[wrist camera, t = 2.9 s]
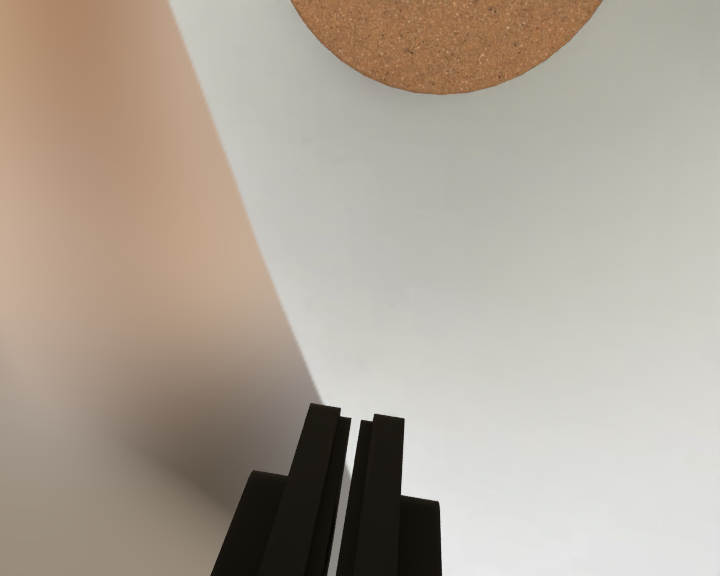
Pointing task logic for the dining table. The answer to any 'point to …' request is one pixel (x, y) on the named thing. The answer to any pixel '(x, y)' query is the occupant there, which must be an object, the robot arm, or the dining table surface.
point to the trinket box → (444, 38)
